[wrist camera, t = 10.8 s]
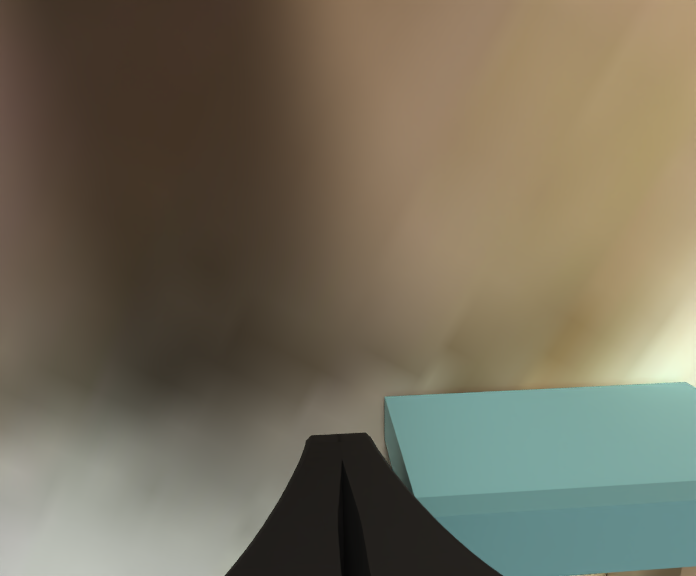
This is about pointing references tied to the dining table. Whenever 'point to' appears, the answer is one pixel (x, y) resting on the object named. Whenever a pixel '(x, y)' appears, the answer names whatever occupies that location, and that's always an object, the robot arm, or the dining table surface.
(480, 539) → the sliding cover
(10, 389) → the dining table surface
